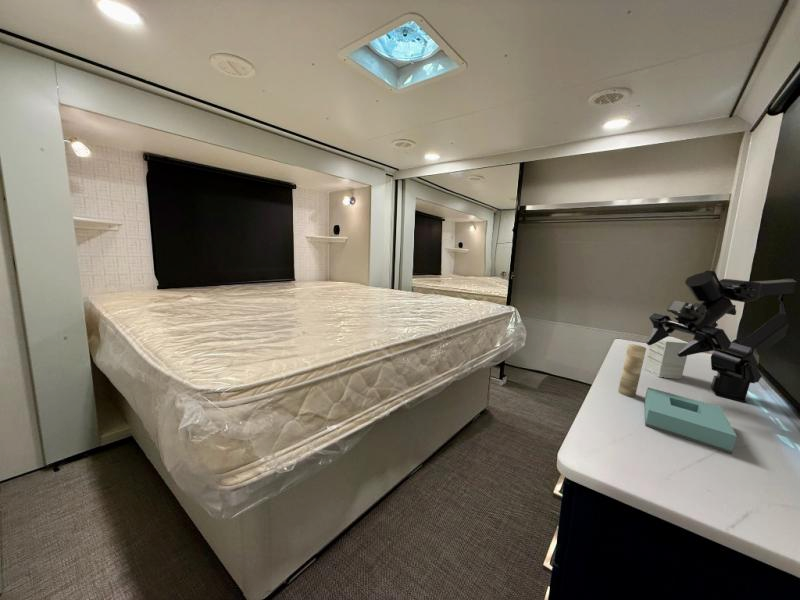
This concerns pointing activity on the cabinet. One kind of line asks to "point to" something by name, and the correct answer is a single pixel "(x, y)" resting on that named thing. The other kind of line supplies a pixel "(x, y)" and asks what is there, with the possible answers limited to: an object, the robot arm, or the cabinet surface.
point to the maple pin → (631, 370)
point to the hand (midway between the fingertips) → (662, 349)
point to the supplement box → (666, 358)
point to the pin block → (689, 419)
